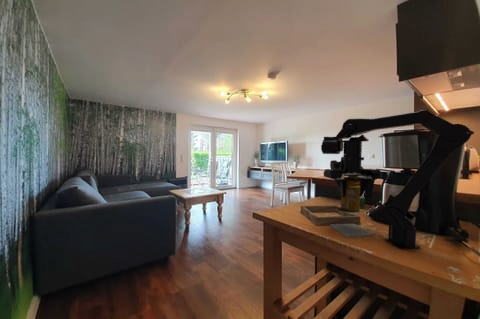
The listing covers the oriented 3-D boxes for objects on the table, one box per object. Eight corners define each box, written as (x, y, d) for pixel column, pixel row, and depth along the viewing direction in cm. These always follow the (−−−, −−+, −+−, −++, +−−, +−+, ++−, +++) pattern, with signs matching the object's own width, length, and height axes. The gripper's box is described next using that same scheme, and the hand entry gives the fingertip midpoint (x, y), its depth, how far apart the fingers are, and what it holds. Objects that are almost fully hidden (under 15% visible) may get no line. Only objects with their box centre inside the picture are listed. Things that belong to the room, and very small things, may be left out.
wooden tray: (360, 224, 80) (360, 216, 80) (316, 225, 79) (316, 218, 78) (337, 211, 96) (337, 205, 96) (300, 212, 95) (300, 206, 95)
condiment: (363, 210, 73) (364, 177, 73) (356, 215, 68) (357, 180, 67) (342, 206, 79) (343, 175, 78) (334, 210, 73) (334, 178, 72)
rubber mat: (372, 236, 69) (372, 234, 69) (345, 237, 68) (345, 235, 68) (354, 225, 79) (354, 223, 79) (329, 225, 78) (329, 224, 78)
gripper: (361, 153, 81) (360, 191, 82) (317, 154, 79) (316, 192, 80) (383, 154, 70) (381, 198, 71) (332, 154, 68) (331, 199, 69)
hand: (351, 196), depth 73 cm, fingers closed on condiment, 6 cm apart
